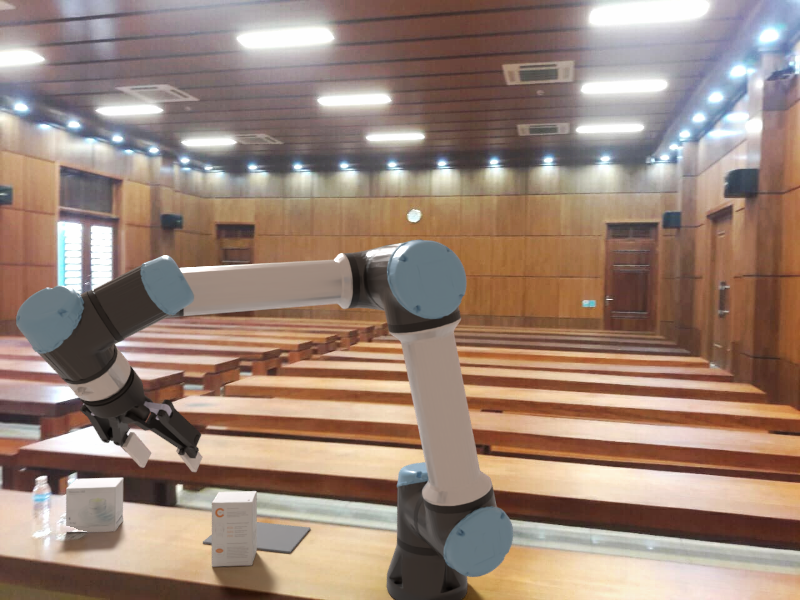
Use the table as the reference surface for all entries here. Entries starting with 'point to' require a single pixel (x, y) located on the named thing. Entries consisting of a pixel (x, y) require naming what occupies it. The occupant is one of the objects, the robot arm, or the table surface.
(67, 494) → the skincare box
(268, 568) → the table surface
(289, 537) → the mat
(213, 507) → the small box
